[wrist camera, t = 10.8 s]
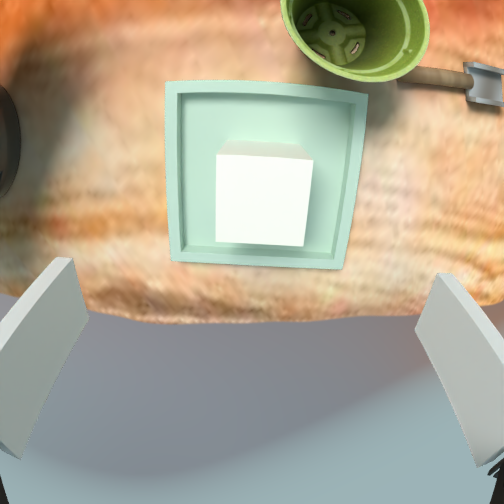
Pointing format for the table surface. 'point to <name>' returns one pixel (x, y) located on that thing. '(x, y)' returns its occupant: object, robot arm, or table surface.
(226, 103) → the tray
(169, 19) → the table surface
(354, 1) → the plant pot
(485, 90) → the scoop
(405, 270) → the table surface
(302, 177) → the block
